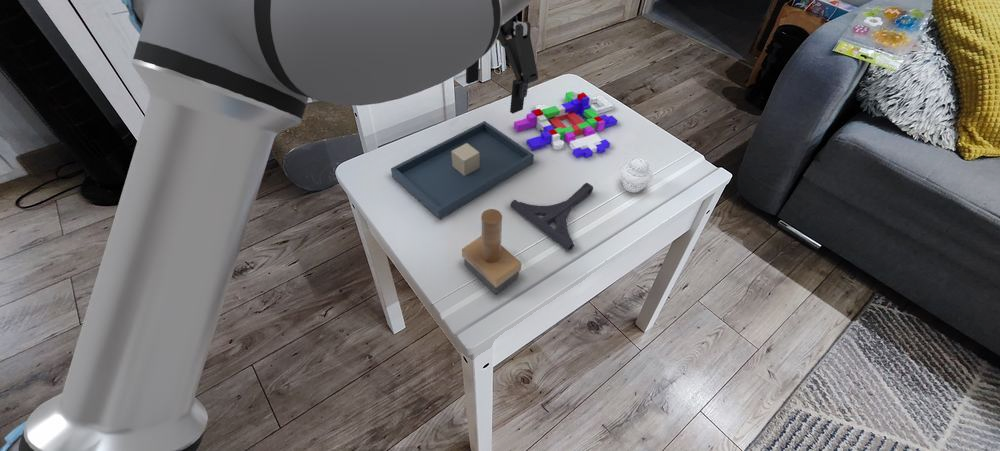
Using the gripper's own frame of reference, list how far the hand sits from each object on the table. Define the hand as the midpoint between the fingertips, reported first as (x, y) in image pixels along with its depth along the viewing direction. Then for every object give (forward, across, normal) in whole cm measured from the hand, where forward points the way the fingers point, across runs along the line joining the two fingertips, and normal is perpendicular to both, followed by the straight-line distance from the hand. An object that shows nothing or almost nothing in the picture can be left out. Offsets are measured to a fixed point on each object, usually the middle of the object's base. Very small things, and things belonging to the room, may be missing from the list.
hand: (493, 95), depth 91 cm
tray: (+12, -3, +10) cm, 16 cm away
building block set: (+11, -8, -18) cm, 23 cm away
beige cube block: (+12, -3, +9) cm, 15 cm away
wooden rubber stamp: (+13, -26, +22) cm, 37 cm away
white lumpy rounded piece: (+11, -29, -13) cm, 33 cm away
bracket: (+12, -24, +2) cm, 27 cm away
